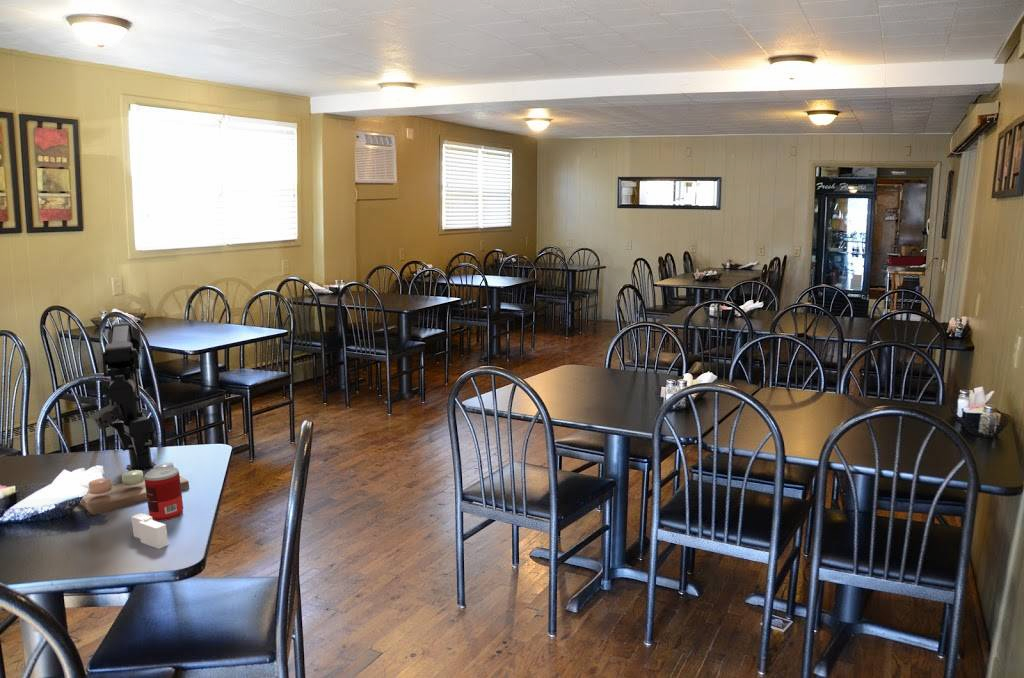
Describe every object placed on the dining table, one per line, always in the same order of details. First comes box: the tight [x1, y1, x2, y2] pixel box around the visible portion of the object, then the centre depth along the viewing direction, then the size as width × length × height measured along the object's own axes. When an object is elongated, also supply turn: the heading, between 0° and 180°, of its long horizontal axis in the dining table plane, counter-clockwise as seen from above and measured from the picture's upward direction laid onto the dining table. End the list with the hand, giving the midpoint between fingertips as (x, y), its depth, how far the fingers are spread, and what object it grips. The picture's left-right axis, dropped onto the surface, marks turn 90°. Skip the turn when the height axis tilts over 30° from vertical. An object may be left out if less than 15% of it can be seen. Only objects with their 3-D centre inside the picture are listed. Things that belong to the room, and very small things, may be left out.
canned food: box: [143, 467, 184, 522], centre depth 198 cm, size 8×8×11 cm
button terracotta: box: [88, 477, 112, 494], centre depth 207 cm, size 5×5×3 cm
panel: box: [80, 474, 190, 516], centre depth 213 cm, size 12×24×2 cm, turn 133°
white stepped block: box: [130, 512, 169, 550], centre depth 185 cm, size 15×11×6 cm
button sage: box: [121, 470, 144, 486], centre depth 212 cm, size 5×5×3 cm
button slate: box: [152, 462, 174, 470], centre depth 218 cm, size 5×5×3 cm
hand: (132, 451), depth 211 cm, fingers open, 8 cm apart
